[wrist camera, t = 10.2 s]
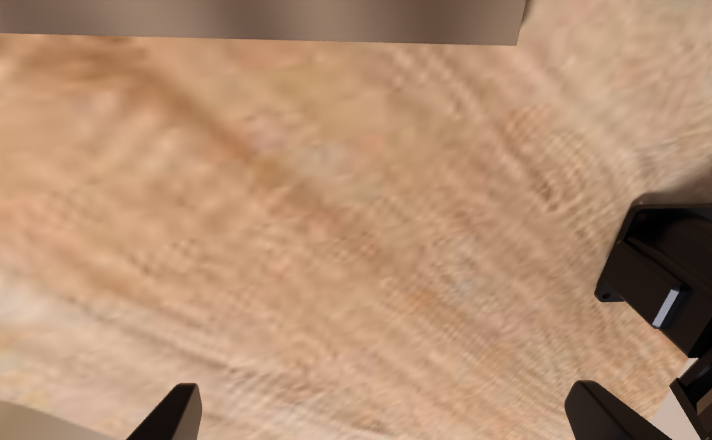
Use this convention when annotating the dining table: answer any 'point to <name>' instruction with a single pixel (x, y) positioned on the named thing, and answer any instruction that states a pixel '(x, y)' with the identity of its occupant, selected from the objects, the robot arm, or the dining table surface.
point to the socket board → (274, 19)
